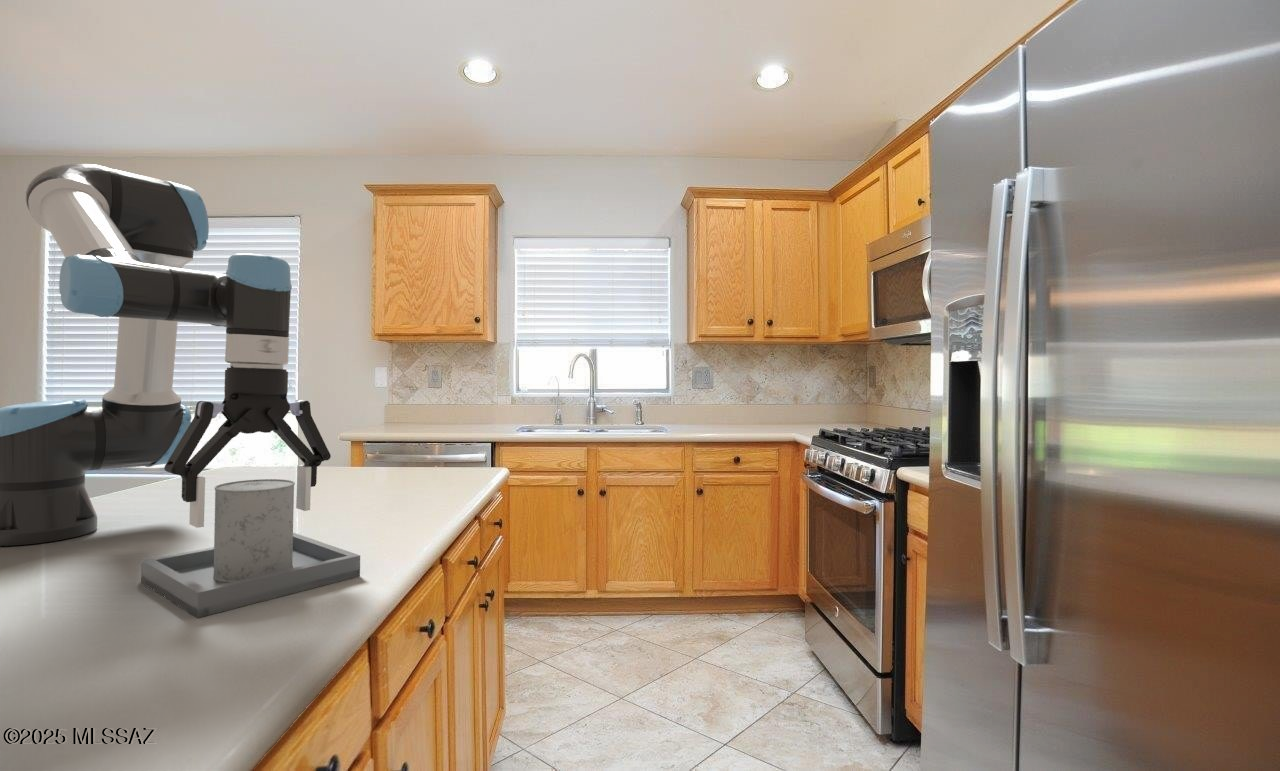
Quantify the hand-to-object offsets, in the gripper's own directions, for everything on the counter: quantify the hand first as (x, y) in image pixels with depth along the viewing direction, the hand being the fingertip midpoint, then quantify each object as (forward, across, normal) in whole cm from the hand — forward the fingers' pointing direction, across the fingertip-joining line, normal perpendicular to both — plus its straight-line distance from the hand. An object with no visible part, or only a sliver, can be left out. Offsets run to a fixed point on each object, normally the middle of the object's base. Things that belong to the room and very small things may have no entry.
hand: (253, 517), depth 86 cm
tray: (+9, 0, -1) cm, 9 cm away
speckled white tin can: (+8, 0, 0) cm, 8 cm away
